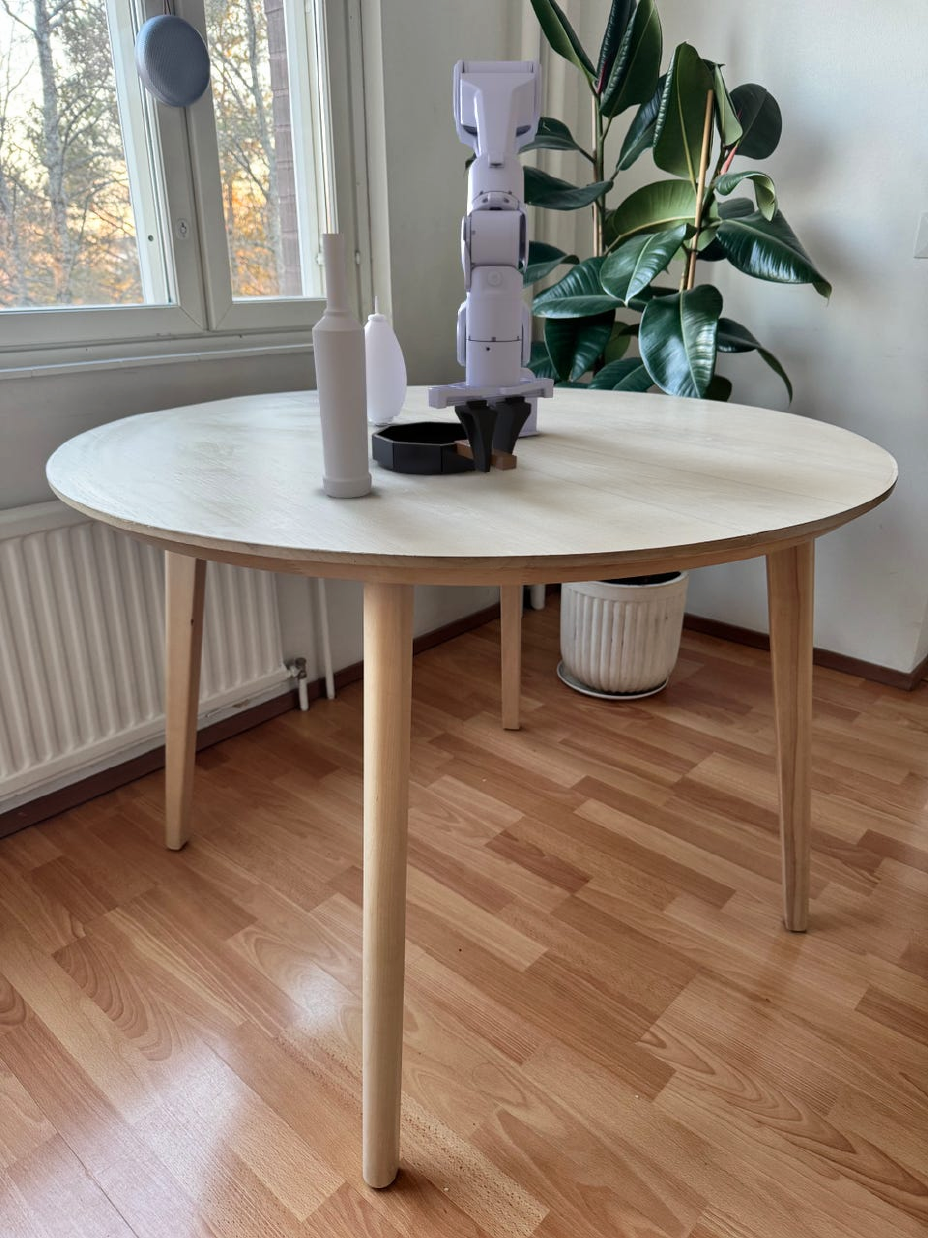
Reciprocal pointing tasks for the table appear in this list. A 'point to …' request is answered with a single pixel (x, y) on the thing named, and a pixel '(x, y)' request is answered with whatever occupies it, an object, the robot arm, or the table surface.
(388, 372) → the sauce bottle
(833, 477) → the table surface
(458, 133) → the robot arm
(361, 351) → the bottle
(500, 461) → the pan
